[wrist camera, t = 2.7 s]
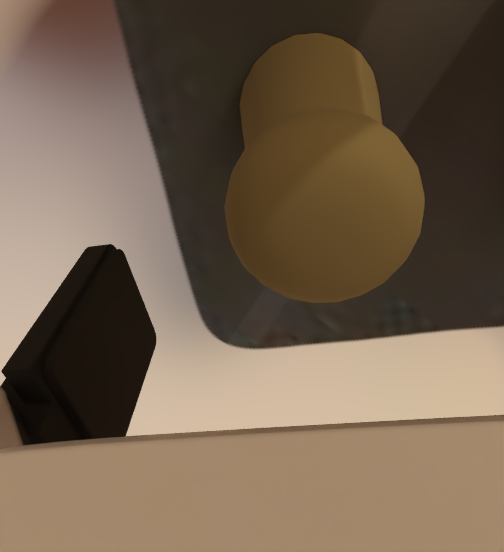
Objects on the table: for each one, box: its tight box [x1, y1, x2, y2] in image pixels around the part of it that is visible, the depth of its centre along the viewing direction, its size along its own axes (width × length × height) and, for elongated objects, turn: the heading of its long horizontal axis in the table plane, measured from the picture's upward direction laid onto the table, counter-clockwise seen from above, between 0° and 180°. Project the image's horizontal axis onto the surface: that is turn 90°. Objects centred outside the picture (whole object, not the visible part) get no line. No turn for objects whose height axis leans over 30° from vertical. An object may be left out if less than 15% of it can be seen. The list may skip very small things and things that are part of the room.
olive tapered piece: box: [224, 33, 425, 303], centre depth 15 cm, size 6×6×11 cm
